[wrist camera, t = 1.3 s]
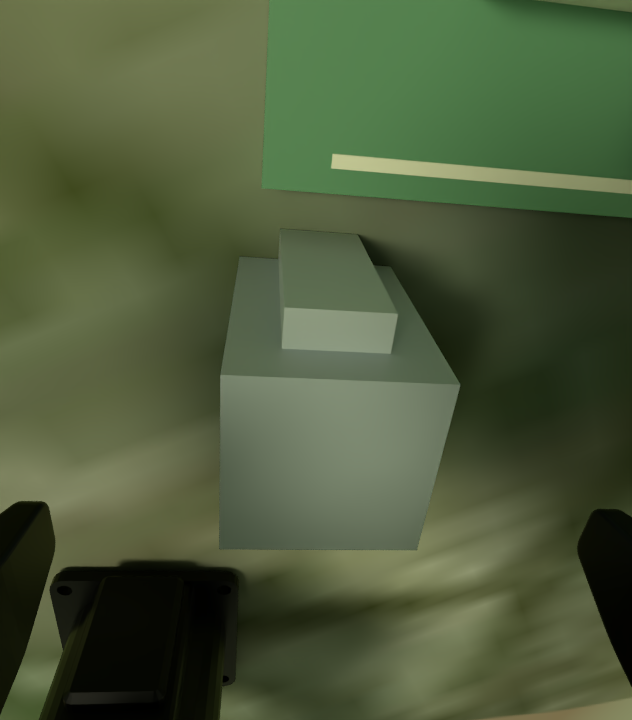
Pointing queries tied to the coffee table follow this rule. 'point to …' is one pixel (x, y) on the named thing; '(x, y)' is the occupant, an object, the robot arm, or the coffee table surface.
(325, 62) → the board
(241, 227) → the coffee table surface
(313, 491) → the plug
